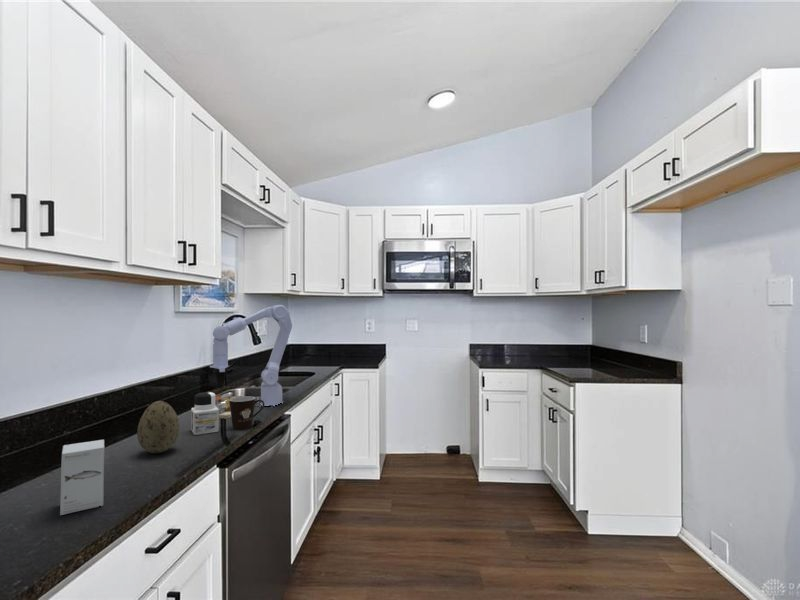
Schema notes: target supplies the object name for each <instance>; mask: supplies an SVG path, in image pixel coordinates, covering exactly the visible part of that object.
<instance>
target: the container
mask: <svg viewBox="0 0 800 600" xmlns="http://www.w3.org/2000/svg"><path fill="white" fill-rule="evenodd" d="M215 396H216V394H215V393H214V392H211V391H205V392H204V391H203V392H199V393H196V394H195V395H194V407H191V410H190V411H191V414H190V415H191V416H190V418H191V419H190V421H191V422H190V424H191V425H190V429H191V431H192V434H193V436H196V435H197V436H198V435H204V434H210V433H211V434H212V433H216V432H217V433H218V432H219V431H220V418H219V409H218V408H217V407H216V406H215V403H216V401H215Z"/></svg>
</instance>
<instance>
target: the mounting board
mask: <svg viewBox="0 0 800 600" xmlns="http://www.w3.org/2000/svg"><path fill="white" fill-rule="evenodd" d="M223 418H224V419H225V420H227V418H228V419H230V418H231V409H225V410H224V413H222V414H219V419H223Z"/></svg>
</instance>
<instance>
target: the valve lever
mask: <svg viewBox="0 0 800 600" xmlns="http://www.w3.org/2000/svg"><path fill="white" fill-rule="evenodd" d="M228 396H231V397H233V396H234V395H233V392H232V391H231V392H226V393H223V394H220V395H218V394H215V402H216V401H219V400H220V401H221V399H222V398H225V397H228Z"/></svg>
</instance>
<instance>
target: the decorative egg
mask: <svg viewBox="0 0 800 600" xmlns="http://www.w3.org/2000/svg"><path fill="white" fill-rule="evenodd" d="M136 430H137V433H136V434H137V440H138V443H139V446H140V447H142V449H143V450H144V451H146V452H148V453H151V454H161V453H164V452H167V450H169V449H171V448H172V447H173V446H174V444H175V443H176V442H177V440H178V438H179V435H180V421H179V417H178V414H177V413H176V411H175V410H174V408H173V407H172V406H171V405H170V404H169V403H168V402H166V401H163V400H158V401H157V400H156V401H154V402H152V403H151V404H150V405H148V407H147V408H146V409H145V410H144V412H143V414H142V416H141V417H140V419H139V422H138V425H137V429H136Z"/></svg>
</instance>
